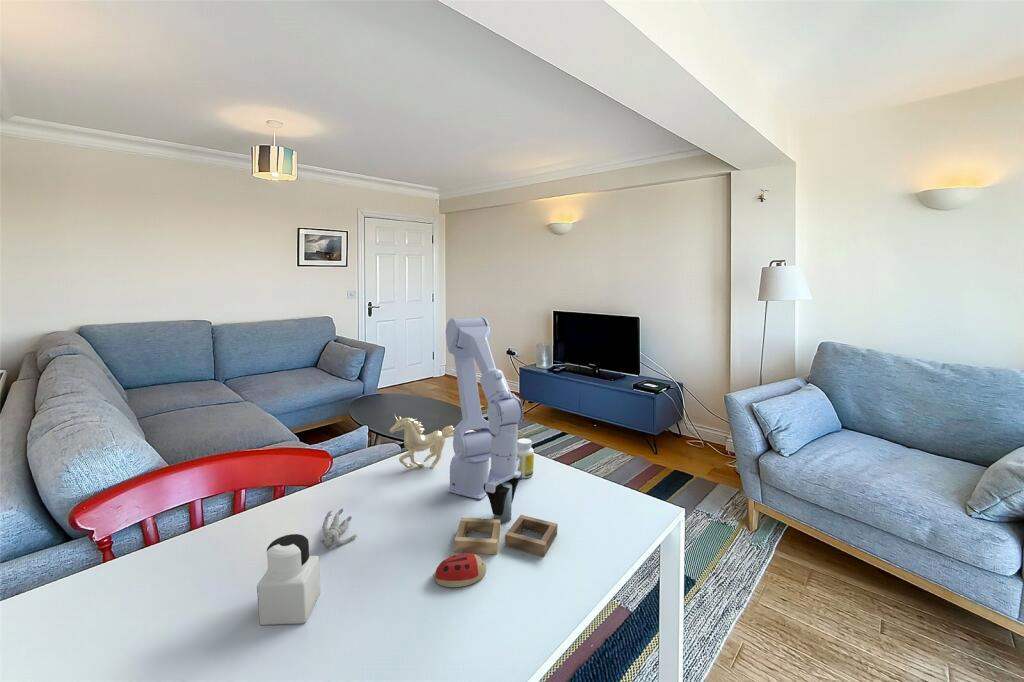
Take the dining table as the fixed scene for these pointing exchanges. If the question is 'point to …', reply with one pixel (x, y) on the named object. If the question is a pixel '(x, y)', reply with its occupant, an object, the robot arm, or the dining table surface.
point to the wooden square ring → (527, 543)
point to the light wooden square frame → (477, 544)
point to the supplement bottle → (525, 457)
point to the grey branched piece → (335, 530)
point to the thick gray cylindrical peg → (506, 505)
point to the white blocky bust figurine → (288, 582)
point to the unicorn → (421, 440)
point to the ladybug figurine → (460, 570)
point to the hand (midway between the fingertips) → (502, 508)
